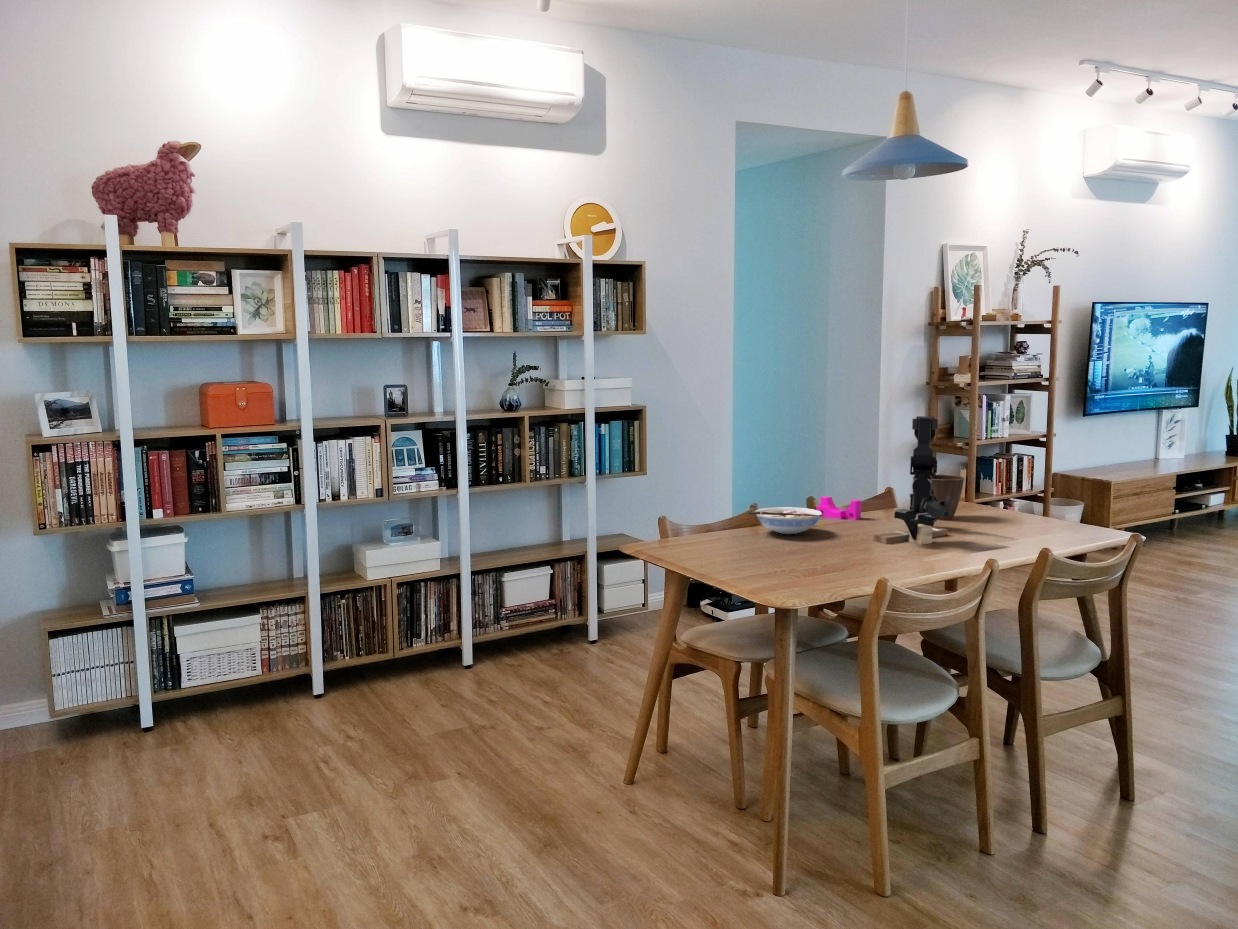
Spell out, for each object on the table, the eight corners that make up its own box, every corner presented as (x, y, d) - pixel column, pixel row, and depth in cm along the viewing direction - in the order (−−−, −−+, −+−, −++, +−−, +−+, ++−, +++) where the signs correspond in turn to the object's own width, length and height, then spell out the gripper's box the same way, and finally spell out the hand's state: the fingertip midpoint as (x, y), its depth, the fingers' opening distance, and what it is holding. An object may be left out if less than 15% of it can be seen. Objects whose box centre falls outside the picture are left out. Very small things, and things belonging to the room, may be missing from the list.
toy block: (816, 517, 366) (816, 498, 365) (825, 515, 370) (825, 496, 369) (851, 522, 355) (852, 502, 354) (860, 520, 360) (861, 500, 359)
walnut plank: (872, 540, 320) (873, 534, 320) (934, 532, 334) (934, 526, 333) (886, 543, 315) (886, 537, 315) (947, 535, 328) (947, 528, 328)
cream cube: (906, 541, 319) (906, 524, 318) (917, 539, 321) (918, 523, 320) (920, 544, 313) (921, 527, 313) (931, 543, 316) (932, 526, 315)
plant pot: (911, 517, 363) (913, 475, 361) (945, 515, 367) (947, 473, 365) (936, 524, 349) (937, 480, 347) (971, 522, 353) (972, 478, 351)
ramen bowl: (827, 528, 342) (827, 506, 341) (822, 541, 320) (823, 516, 319) (756, 526, 349) (756, 503, 348) (747, 537, 327) (747, 513, 326)
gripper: (919, 496, 303) (918, 545, 305) (962, 492, 312) (960, 540, 314) (893, 492, 313) (892, 540, 315) (935, 488, 322) (934, 534, 324)
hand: (920, 538), depth 316 cm, fingers closed on cream cube, 5 cm apart
